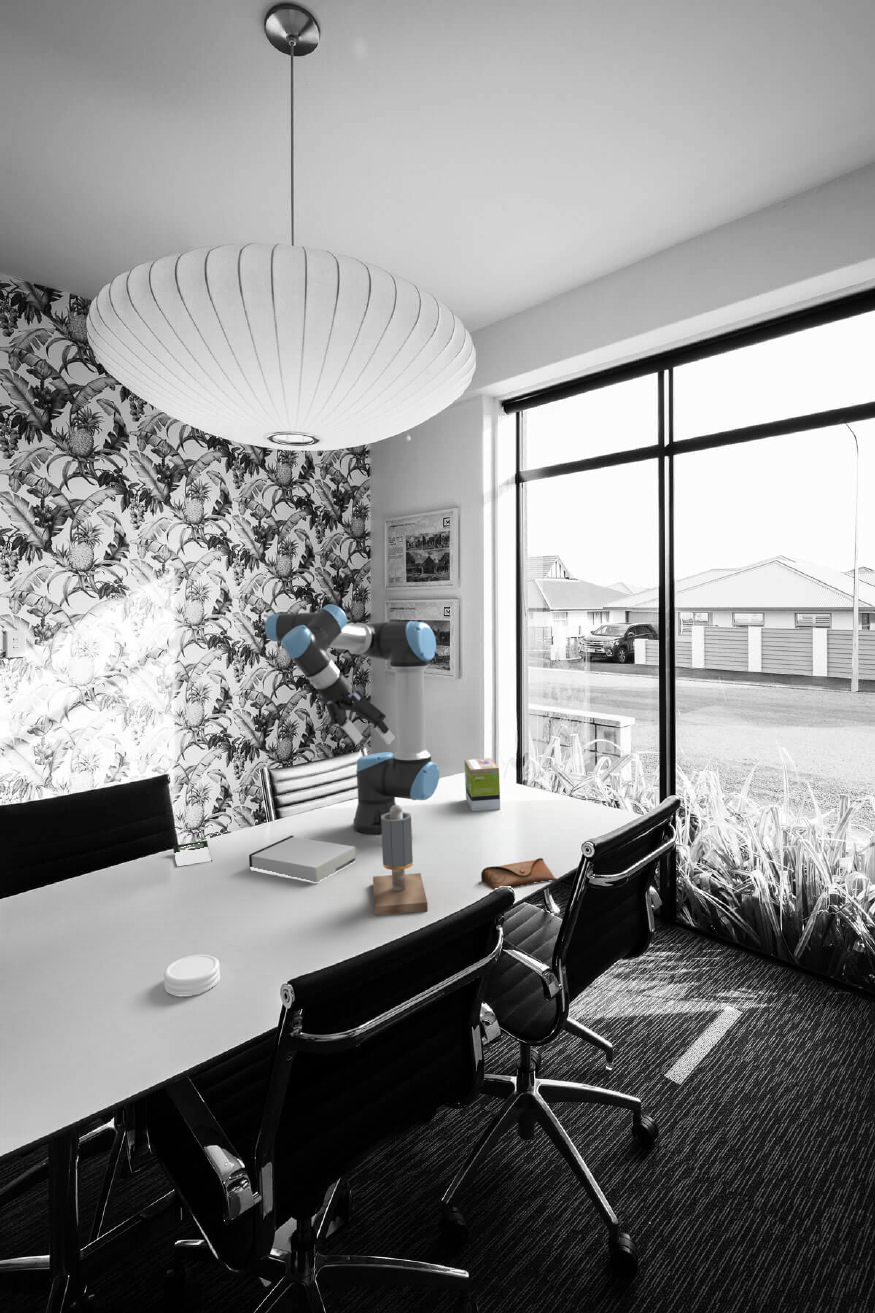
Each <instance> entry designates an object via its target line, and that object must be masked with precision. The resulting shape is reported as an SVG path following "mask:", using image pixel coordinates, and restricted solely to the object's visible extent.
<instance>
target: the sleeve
mask: <svg viewBox="0 0 875 1313" xmlns="http://www.w3.org/2000/svg"><path fill="white" fill-rule="evenodd" d="M402 816H403V819H399V820H390V813H386V814H384V815H381V826H382V833H381V849H382V864H384V865H387V866H390V867H399V866H406V865H408V864H410V863H412V862H414V861H413V837H412V835H413V834H412V830H413V829H412V816H411V813H409V812H404V811H402Z"/></svg>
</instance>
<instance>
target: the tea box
mask: <svg viewBox="0 0 875 1313" xmlns="http://www.w3.org/2000/svg"><path fill="white" fill-rule="evenodd" d="M464 780H465V782H464V783H465V799H466V801H467V803H468V805H469V807H470V809H471V811H472V812H482V811H483V812H484V811H495V810H501V792H500V791H501V788H500V787H501V786H500V768H499V767H498V765H497V764H496V763H495V762H494V761H493V759H492V758H491V757H489V758H486V757H485V758H475V759H464Z"/></svg>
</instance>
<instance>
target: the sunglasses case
mask: <svg viewBox="0 0 875 1313" xmlns="http://www.w3.org/2000/svg"><path fill="white" fill-rule="evenodd" d="M480 874H481V875H480V876H481V877H480V878H481V882H482V883H484V884H486V886H488V887H489V888H490V889H492V890H494V889H495V888H499V887H500V886H511V887H513V888H512V889H514V888H518V886H519V887H522V886H521V885H524V886H528V885H527V884H530V885H532V884H531V883H534V882H541V881H547V882H550V881H549V880H552V881H551V882H553V881H557V880H558V878H556V877H555V876H554V875H553V873H552V872H551V870H550V868H549V867H548V865H547V864H546V862H545V860H544V858H541V857H540V858H536V859H534V860H533V859H532V860H526V861H520V862H513V863H508V864H503V865H498V866H494V865H493V866H487V867H485V868H483V870H482V871H481V873H480ZM541 883H542V882H541Z"/></svg>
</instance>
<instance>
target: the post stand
mask: <svg viewBox="0 0 875 1313" xmlns="http://www.w3.org/2000/svg"><path fill="white" fill-rule="evenodd" d="M402 812H403V808H402V807H401V806H400V805H398V804H396V805H394V806H392V807H391V808H390V820H399V819H403V816H402ZM413 862H414V861H413ZM413 862H412V863H410V864H408V865H406V866H399V867H390V866H387V865H384V864H383V863H382V864H383V868H385V869H386V870H391V875H390V874H389V875H377V876H372V884H373V885H372V887H373V888H374V889H373V903H374V915H375V916H380V915H382V916H383V915H391V914H404V913H405V914H406V913H418V912H428V911H429V910H428V908H429V907H428V906H429V905H428V898H427V895H426V891H425V887H424V883H423V878H422V874H421V873H418V872H417V873H405V870H406V869H409V868H411V867H413Z"/></svg>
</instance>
